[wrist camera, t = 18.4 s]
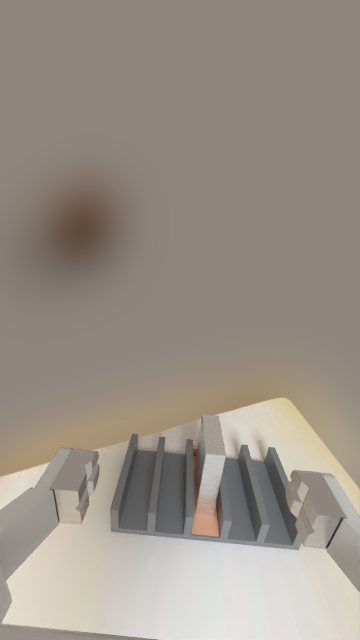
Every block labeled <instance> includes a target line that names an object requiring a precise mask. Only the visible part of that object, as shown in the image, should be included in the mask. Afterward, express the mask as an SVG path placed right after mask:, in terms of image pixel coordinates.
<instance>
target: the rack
mask: <svg viewBox="0 0 360 640" xmlns="http://www.w3.org/2000/svg"><path fill="white" fill-rule="evenodd" d="M164 446H165V437H159V444H158V451H157V452H151V451H140V450H137V449H138V435H137V434H132V437H131V440H130V444H129V447H128V451H127V454H126V457H125V461H124V464H123V468H122V471H121V475H120V478H119V482H118V485H117V488H116V492H115V495H114V499H113V502H112V506H111V509H110V510H111V531H113V532H123V533H133V534H143V535H153V536H163V537H173V538H184V539H194V540H204V541H214V542H224V543H234V544H244V545H254V546H264V547H274V548H285V549H295V550H299V548H300V545H301V543H302V541H301V539H300V536H299V533H298V531H297V528H296V526H295V523H296V517H295V516H294V515H293V514H292V513H291V511H290V509H289V507H288V504H287V499H286V487H287V484H288V483H289V481H288V479H287V476H286V474H285V472H284V469H283V467H282V464H281V462H280V459H279V457H278V455H277V452H276V450H275V448H272V447H269V449H268V452H267V456H266V459H265V462H253V461H252V460H251V456H250V453H249V449H248V446H247V445H241V449H240V453H239V457H238V460H233V459H225V462H224V467H223V472H222V476H221V481H220V486H219V490H218V495H217V499H216V504H215V509H214V513H213V515H204V514H196V509H195V476H194V467H195V461H196V454H197V447H195V446H193V440H189V439H187V442H186V450H185V455H181V454H171V453H164Z"/></svg>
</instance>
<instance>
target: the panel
mask: <svg viewBox="0 0 360 640" xmlns="http://www.w3.org/2000/svg"><path fill="white" fill-rule="evenodd" d="M225 458H226V454H225V448H224V442H223V437H222V431H221V426H220V420H219V416H213V415H202V421H201V428H200V434H199V441H198V447H197V454H196V461H195V467H194V476H195V509H196V514H204V515H213V513H214V509H215V504H216V499H217V495H218V490H219V486H220V481H221V476H222V472H223V467H224V462H225Z"/></svg>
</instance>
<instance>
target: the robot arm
mask: <svg viewBox="0 0 360 640" xmlns="http://www.w3.org/2000/svg"><path fill="white" fill-rule="evenodd" d="M98 458H99V455H98V452H97V451H89V450H81V449H73V448H64V447H61V448H60V449H59V450H58V452H57V453H56V455H55V456H54V458H53V459H52V461H51V463H50V464H49V466H48V467H47V469H46V470H45V472H44V474H43V475H42V477H41V478H40V480H39V482H38V483H37V485H36V486H35V488H30V489H28V490H27V491H26V492H24V493H23V494H22V495H20V496H19V497H18V498H16V499H15V500H13V501H12V502H11V503H9V504H8V505H7V506H5V507H4V508H3V509H1V510H0V640H156V639H146V638H137V637H127V636H117V635H108V634H98V633H88V632H78V631H69V630H59V629H49V628H40V627H30V626H20V625H10V624H1V623H2V621H3V619H4V617H5V615H6V613H7V611H8V609H9V607H10V604H11V602H12V599H11V594H10V591H9V588H8V585H7V582H6V580H7V579H8V578H9V577H10V576H11V575H12V574H13V573H14V571H15V570H16V569H17V568H18V567H19V566H20V565H21V564H22V563H23V562H24V561H25V560H26V559H27V558H28V556H29V555H30V554H31V553H32V552H33V551H34V550H35V549H36V548H37V547H38V546H39V545H40V544H41V543H42V541H43V540H44V539H45V538H46V537H47V536H48V535H49V534H50V533H51V532H52V531H53V530H54V529H55V528H56V527H57V525H58V523H72V524H82V521H83V519H84V516H85V513H86V511H87V508H88V506H89V496H90V495H91V494H92V493H93V492H94V490H95V487H96V484H97V480H98V476H99V464H98V463H97V460H98ZM290 477H291V479H292V481H290V482H289V483H288V484H287V487H286V499H287V504H288V507H289V509H290V511H291V513H292V514H293V515H294V516H295V517H296V523H295V526H296V528H297V531H298V533H299V536H300V539H301V541H302V544H303V546H305V547H313V548H320V549H327V552H328V553H329V555H330V556H331V557H332V558H333V560H334V561H335V562H336V563H337V565H338V566H339V567H340V568H341V570H342V571H343V572H344V574H345V575H346V576H347V577H348V579H349V580H350V581H351V582H352V584H353V585H354V586H355V587H356V589H357V590H358V591H359V592H360V516H359V515H358V513H357V512H356V510H355V508H354V507H353V505H352V504H351V502H350V500H349V499H348V497H347V496H346V494H345V492H344V491H343V489H342V488H341V486H340V484H339V483H338V481H337V479H336V478H335V477H334V476H333V475H332V474H329V473H318V472H311V471H299V470H294V471H292V473H291V475H290Z"/></svg>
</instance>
